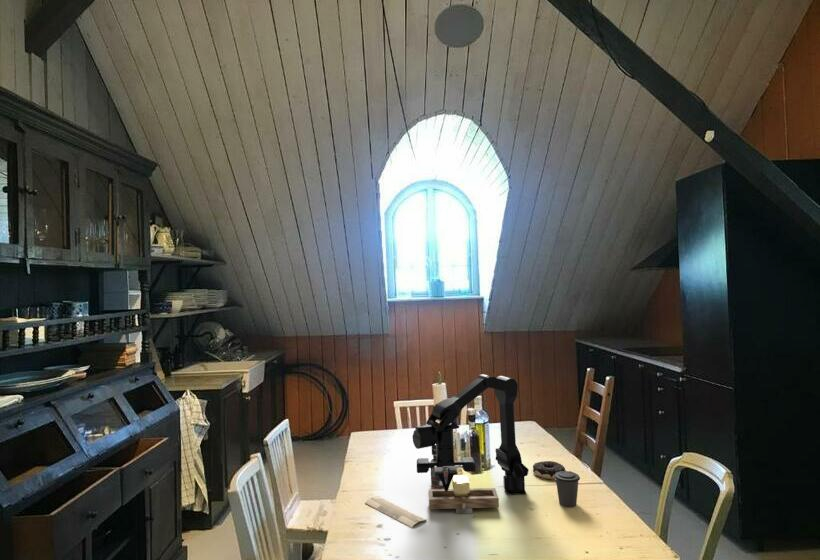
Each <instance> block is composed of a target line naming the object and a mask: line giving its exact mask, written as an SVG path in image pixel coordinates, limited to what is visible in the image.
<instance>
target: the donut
mask: <svg viewBox="0 0 820 560" xmlns="http://www.w3.org/2000/svg"><path fill="white" fill-rule="evenodd" d="M560 471H567V470H566V468H565V466H564V465H563V464H561V463H559V462H556V461H551V460H545V461H544V460H542V461H538V462H535V463H534V464H533V465H532V472H533V474H534V475H536V476H537V477H539V478H542V479H545V480H556V478H555V477H554V475H555V473H557V472H560Z"/></svg>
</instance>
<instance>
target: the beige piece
mask: <svg viewBox="0 0 820 560" xmlns="http://www.w3.org/2000/svg"><path fill="white" fill-rule="evenodd" d="M364 503H365V505H367V506H369V507H371V508H373V509H375V510H377V511H379V512H381V513H383V514H385V515H387V516H388V517H390V518H392V519H394V520H396V521H398V522H400V523H402V524H404V525H405V526H407V527H408V528H411V529H413V528H414V526H415V525H416V524H418V523H419V522H427V519H425V518H423V517H421V516H419V515H416V514H415V513H413V512H412V511H409V510H407V509H405V508H403V507H401V506H399V505H397V504H395V503H393V502H390V501H389V500H387V499H385V498H382V497H380V496H372V497H370V498H369V499H367V500H366V501H365V502H364Z"/></svg>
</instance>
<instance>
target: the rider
mask: <svg viewBox="0 0 820 560" xmlns="http://www.w3.org/2000/svg"><path fill="white" fill-rule="evenodd" d="M451 483H452V484H451V485H452V489H453V491H454V493H455V497H463V496H465V497H468V493H470V489H471V488H470V480H469V476H468V474H465V475H464V474H462V475H460V474H459V475H458V474H456V475H454V477H453V478H452V480H451Z"/></svg>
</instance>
